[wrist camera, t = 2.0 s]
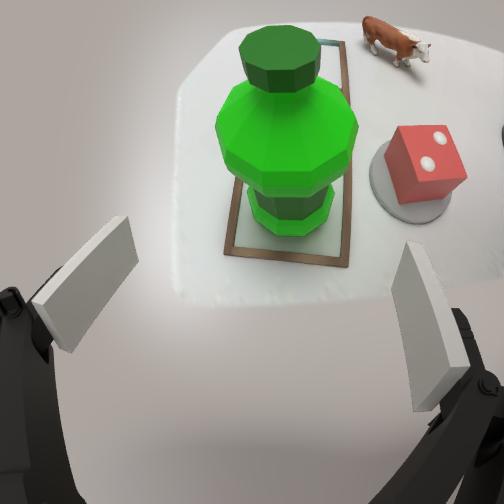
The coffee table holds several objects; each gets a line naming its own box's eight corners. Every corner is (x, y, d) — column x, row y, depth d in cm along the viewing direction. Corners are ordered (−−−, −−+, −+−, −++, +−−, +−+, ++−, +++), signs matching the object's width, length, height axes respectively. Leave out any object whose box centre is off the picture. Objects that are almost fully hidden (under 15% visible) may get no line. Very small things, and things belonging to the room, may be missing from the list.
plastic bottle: (281, 155, 38) (258, -10, 14) (347, 199, 36) (407, 45, 12) (233, 212, 38) (146, 73, 13) (301, 262, 35) (314, 158, 11)
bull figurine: (416, 86, 38) (429, 53, 30) (354, 44, 41) (359, 11, 33) (427, 76, 38) (440, 46, 30) (367, 37, 41) (373, 5, 33)
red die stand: (431, 141, 36) (453, 108, 27) (457, 218, 33) (489, 195, 25) (359, 146, 37) (371, 109, 29) (382, 229, 35) (405, 206, 26)
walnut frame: (344, 43, 41) (344, 41, 41) (347, 267, 34) (348, 266, 34) (261, 39, 44) (261, 36, 43) (224, 254, 37) (223, 253, 36)
